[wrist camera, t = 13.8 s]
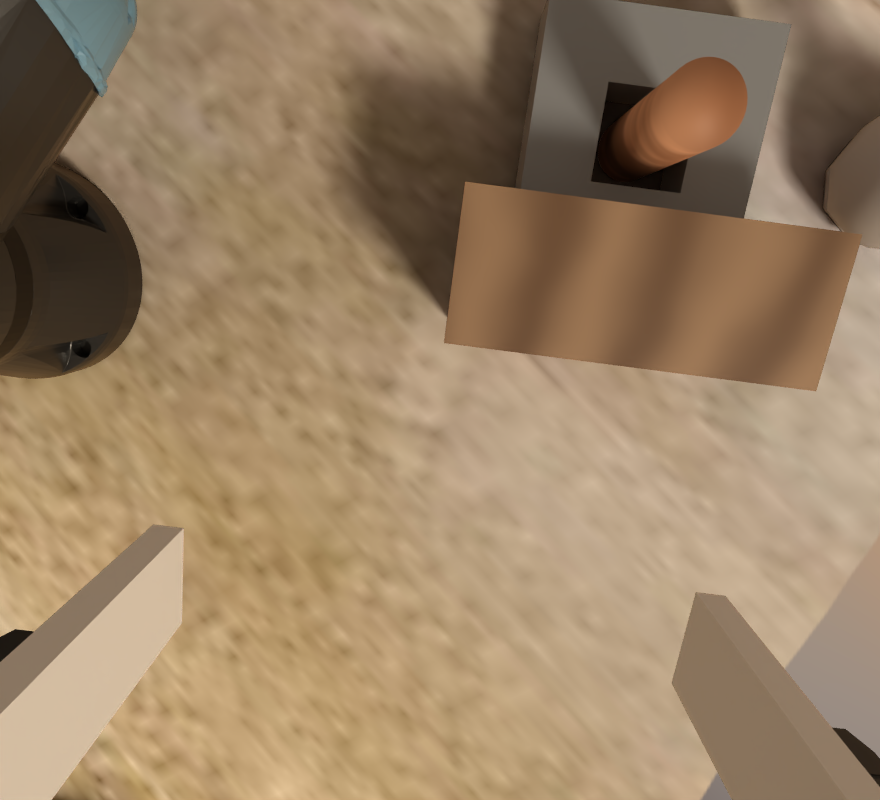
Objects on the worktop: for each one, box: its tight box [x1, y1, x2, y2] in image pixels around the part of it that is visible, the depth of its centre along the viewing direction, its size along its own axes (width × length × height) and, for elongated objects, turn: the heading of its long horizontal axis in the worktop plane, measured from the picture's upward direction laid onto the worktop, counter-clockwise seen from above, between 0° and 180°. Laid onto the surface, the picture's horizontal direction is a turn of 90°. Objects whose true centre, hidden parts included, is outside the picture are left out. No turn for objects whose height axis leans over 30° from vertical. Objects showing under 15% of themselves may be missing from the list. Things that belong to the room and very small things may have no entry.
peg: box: [598, 57, 748, 182], centre depth 33 cm, size 4×4×12 cm
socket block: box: [515, 0, 791, 219], centre depth 36 cm, size 14×14×4 cm
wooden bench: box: [444, 182, 863, 391], centre depth 36 cm, size 21×8×10 cm, turn 83°
